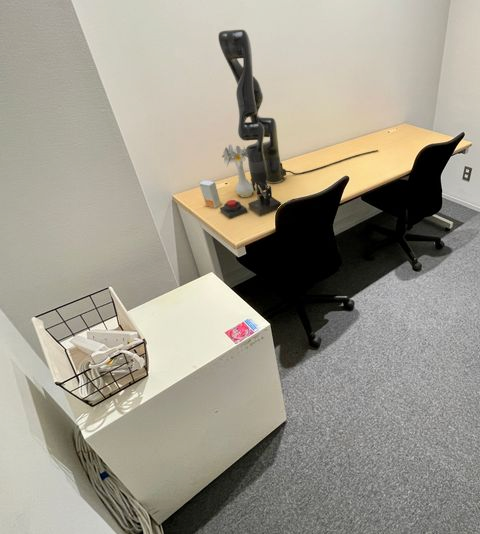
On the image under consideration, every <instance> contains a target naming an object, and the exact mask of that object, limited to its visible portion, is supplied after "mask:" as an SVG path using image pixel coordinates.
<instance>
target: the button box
mask: <svg viewBox="0 0 480 534" xmlns="http://www.w3.org/2000/svg"><path fill="white" fill-rule="evenodd" d="M236 202H237V206H235V207H228V206H227V202H226V203H224V205H223V206H221V207H219V211H220V213H222V214H223V215H224V216H225V217H227V218H228V219H230V220H232V219H234V218H236V217H238V216H241V215H244V214H247V213H248V209H247V207H245V206H244V205H242V204H241V202H240V201H238V200H236Z"/></svg>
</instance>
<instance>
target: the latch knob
mask: <svg viewBox="0 0 480 534" xmlns="http://www.w3.org/2000/svg"><path fill="white" fill-rule="evenodd" d="M265 195H266V193H265ZM256 198H257V200H258V203H259V204H260V205H262V204H265V199H264V196H263V194H259V195H257V194H256ZM269 199H270V198H269Z"/></svg>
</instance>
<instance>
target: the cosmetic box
mask: <svg viewBox="0 0 480 534" xmlns="http://www.w3.org/2000/svg"><path fill="white" fill-rule="evenodd" d="M198 184H199V187H200V191H201V194H202V197H203V201H204V204H205V206H207V207H211V208H215V209H217V208H218V207H219V206H221V204H222V203H221V199H220V196H219V193H218V189H217V185H216V182H215V181H212V180H206V179H204V180H202V181H201V182H199V183H198Z"/></svg>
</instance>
